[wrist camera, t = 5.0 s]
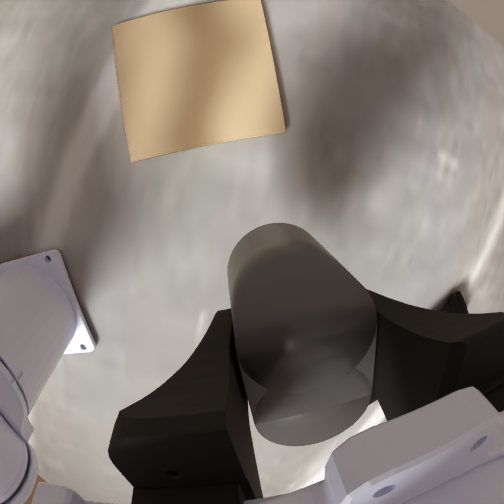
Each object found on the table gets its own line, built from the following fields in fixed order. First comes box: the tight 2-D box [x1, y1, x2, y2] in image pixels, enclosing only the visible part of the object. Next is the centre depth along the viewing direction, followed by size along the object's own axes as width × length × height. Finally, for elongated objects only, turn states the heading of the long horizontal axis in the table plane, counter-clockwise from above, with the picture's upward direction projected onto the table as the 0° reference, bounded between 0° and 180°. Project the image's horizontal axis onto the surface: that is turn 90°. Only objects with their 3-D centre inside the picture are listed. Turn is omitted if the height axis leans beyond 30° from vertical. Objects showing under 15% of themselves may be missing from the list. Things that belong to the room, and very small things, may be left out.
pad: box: [112, 0, 286, 162], centre depth 16 cm, size 9×9×1 cm
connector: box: [228, 223, 377, 446], centre depth 11 cm, size 9×4×5 cm, turn 9°
